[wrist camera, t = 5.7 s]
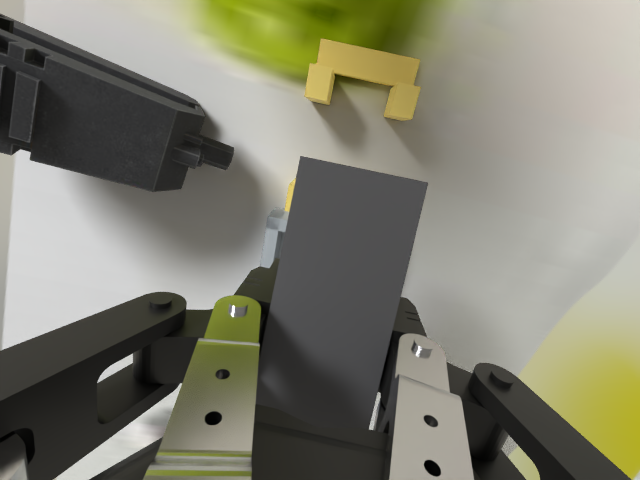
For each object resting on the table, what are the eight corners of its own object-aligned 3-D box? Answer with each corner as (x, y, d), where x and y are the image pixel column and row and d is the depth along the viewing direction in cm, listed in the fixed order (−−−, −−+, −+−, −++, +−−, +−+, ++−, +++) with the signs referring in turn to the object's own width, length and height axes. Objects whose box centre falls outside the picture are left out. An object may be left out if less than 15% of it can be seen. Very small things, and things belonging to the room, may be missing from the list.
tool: (-56, -28, 22) (-304, -97, 10) (222, 98, 32) (256, 136, 21) (-61, 64, 24) (-273, 94, 12) (203, 156, 34) (224, 219, 22)
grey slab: (313, 178, 15) (300, 155, 9) (389, 194, 15) (427, 182, 9) (268, 396, 16) (228, 509, 10) (339, 413, 16) (342, 536, 10)
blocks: (321, 40, 24) (316, 24, 20) (418, 61, 24) (431, 48, 20) (288, 223, 29) (279, 238, 25) (369, 241, 29) (372, 258, 25)
